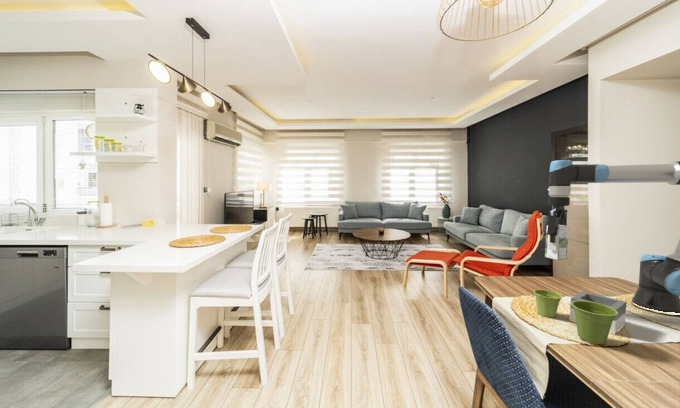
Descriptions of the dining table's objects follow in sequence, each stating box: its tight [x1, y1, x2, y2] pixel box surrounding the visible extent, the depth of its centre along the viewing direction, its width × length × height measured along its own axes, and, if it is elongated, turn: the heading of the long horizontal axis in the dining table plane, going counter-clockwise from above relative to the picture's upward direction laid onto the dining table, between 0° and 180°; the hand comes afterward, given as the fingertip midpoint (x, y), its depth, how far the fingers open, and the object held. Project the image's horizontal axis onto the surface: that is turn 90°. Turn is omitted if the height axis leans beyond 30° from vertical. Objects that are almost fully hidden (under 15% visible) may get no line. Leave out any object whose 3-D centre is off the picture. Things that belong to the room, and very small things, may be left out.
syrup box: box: [544, 224, 570, 261], centre depth 128 cm, size 6×6×14 cm
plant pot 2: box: [570, 301, 618, 346], centre depth 99 cm, size 12×12×11 cm
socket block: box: [569, 291, 627, 335], centre depth 111 cm, size 13×13×9 cm
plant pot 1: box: [533, 289, 563, 318], centre depth 118 cm, size 9×9×9 cm
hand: (556, 249), depth 128 cm, fingers closed on syrup box, 7 cm apart
